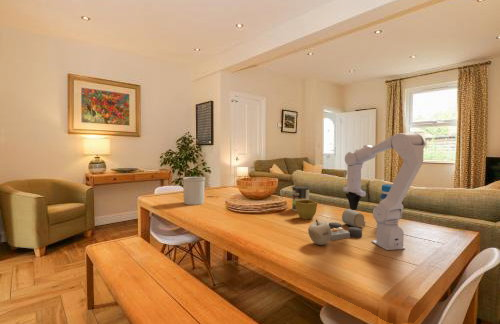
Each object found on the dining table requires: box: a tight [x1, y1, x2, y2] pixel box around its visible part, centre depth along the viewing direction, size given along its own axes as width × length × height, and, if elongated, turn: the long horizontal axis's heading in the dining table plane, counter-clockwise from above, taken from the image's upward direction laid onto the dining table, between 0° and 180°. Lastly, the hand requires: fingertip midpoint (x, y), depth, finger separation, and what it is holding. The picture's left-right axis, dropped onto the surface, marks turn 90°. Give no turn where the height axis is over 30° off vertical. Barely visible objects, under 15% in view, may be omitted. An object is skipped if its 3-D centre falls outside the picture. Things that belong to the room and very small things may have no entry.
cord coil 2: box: [347, 226, 363, 239], centre depth 118 cm, size 6×6×3 cm
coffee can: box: [291, 185, 310, 212], centre depth 166 cm, size 10×10×14 cm
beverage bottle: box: [379, 183, 399, 225], centre depth 131 cm, size 8×8×20 cm
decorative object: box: [307, 219, 331, 246], centre depth 107 cm, size 9×9×10 cm
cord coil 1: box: [328, 222, 342, 229], centre depth 125 cm, size 6×6×3 cm
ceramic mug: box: [341, 208, 367, 228], centre depth 133 cm, size 11×8×8 cm
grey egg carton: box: [330, 226, 351, 241], centre depth 117 cm, size 7×10×4 cm
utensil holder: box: [182, 176, 206, 206], centre depth 186 cm, size 15×15×18 cm
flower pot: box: [295, 199, 318, 220], centre depth 147 cm, size 9×9×9 cm
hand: (353, 209), depth 121 cm, fingers closed
